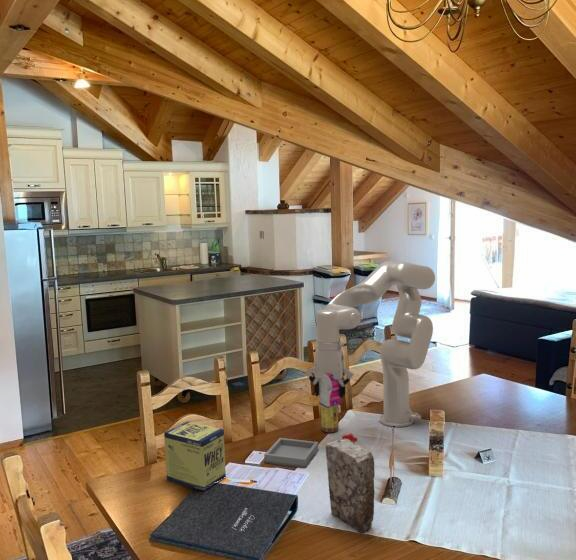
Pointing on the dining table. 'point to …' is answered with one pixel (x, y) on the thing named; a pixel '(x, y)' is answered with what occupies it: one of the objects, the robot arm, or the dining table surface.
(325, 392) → the supplement box
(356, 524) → the stone block
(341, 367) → the robot arm
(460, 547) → the dining table surface
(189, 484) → the protein box
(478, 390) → the dining table surface
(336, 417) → the sauce bottle
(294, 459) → the slate tray
